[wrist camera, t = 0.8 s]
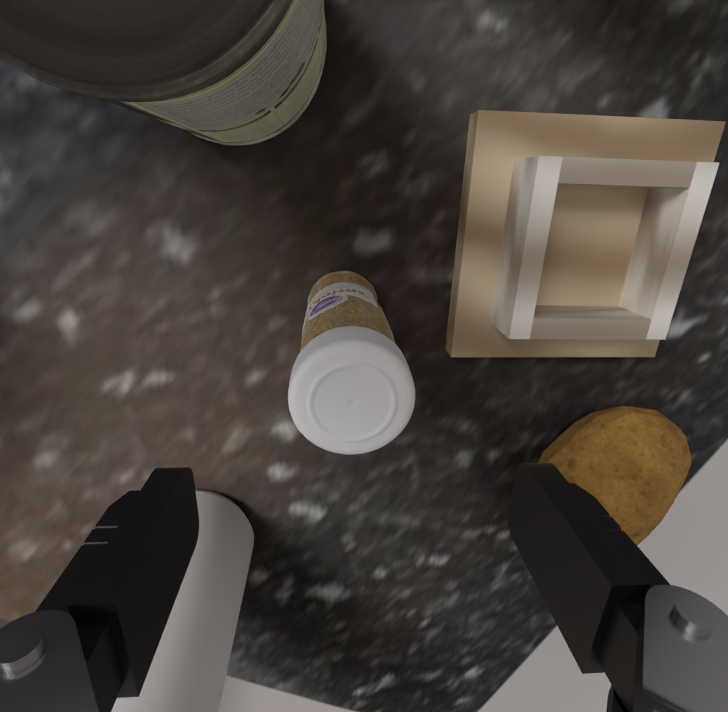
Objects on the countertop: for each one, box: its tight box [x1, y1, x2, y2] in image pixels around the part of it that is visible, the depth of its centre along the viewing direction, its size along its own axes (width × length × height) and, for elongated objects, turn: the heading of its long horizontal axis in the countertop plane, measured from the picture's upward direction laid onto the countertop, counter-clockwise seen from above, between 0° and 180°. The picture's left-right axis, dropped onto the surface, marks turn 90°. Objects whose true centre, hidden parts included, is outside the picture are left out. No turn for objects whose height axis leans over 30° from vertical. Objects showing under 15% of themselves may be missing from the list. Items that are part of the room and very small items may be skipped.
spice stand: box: [445, 110, 726, 357], centre depth 25 cm, size 14×14×4 cm
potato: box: [538, 406, 691, 545], centre depth 30 cm, size 9×13×7 cm
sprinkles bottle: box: [288, 271, 415, 454], centre depth 21 cm, size 5×5×13 cm
